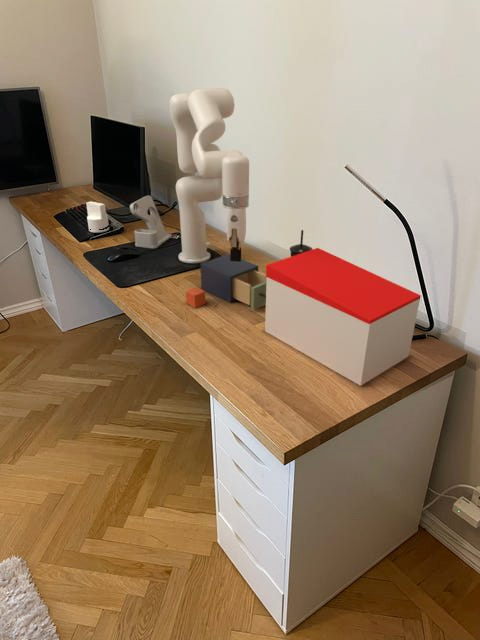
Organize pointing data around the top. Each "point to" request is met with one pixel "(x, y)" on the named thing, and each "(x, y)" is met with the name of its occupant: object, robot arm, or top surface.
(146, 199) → the phone holder
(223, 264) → the cabinet
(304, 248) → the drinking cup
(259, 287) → the drawer
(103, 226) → the base with upright slab
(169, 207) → the top surface
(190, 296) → the block
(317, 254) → the red-lidded white box
